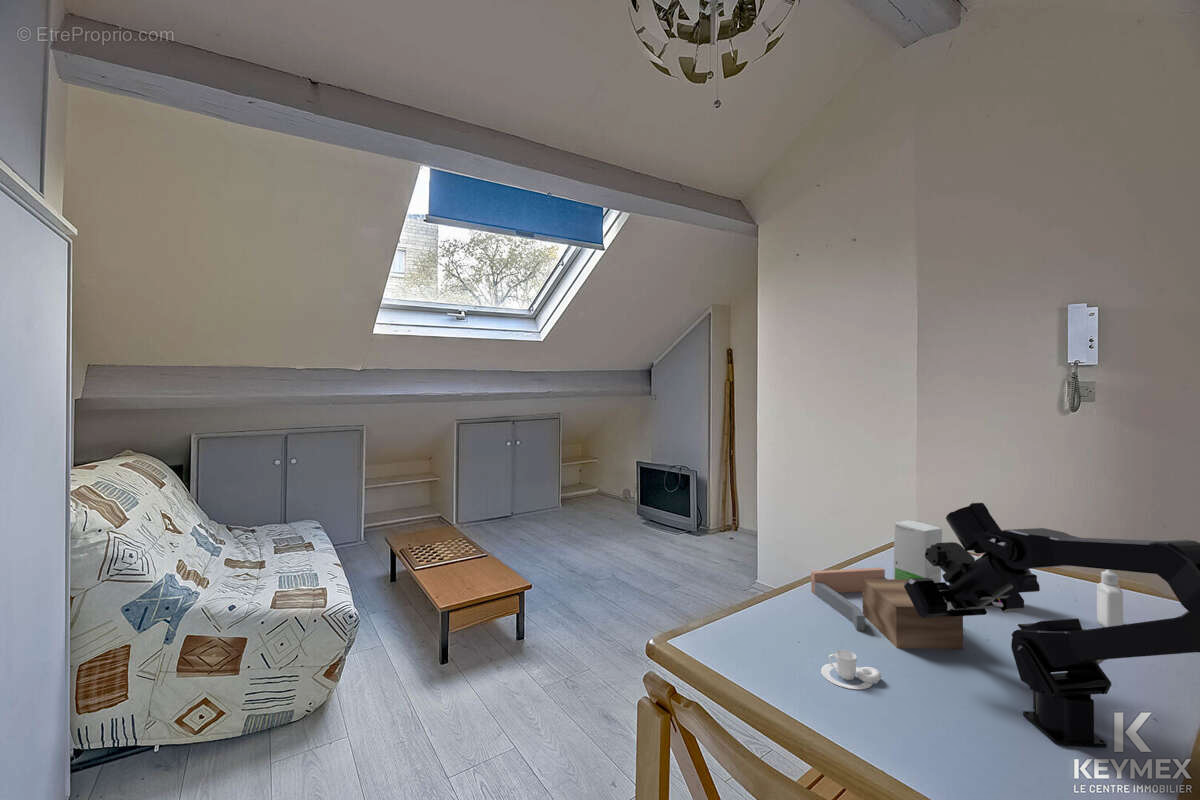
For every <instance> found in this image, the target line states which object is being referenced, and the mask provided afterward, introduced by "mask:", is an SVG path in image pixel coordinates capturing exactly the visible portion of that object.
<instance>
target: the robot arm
mask: <svg viewBox="0 0 1200 800" xmlns="http://www.w3.org/2000/svg"><path fill="white" fill-rule="evenodd" d="M945 521H946V522H947V524H948V525H949V526H950V528H951V529H952V531H953V533H954V535H955V536H956V537H957V539H958V540H959V542H960V544H959V543H957V542H954V541H950V542H947V541H946V542H942V543H936V544H935V545H931V547H930V548H927V549H926V553H925V558H926V559H927V560H928V561H929V562H930V563H931V564H932V565H933V566H939V567H940V568H941V571H943V572H944V573H943V574H941V577H942V578H943V579H944V582H942V581H941V582H939V583H935V582H934V581H933V580H932V579H930V578H912V579H909V580H908V581H907V582H906V583H905V585H904V588H905V590H906V591H907V593H908V595H909V597H910V599H911V601H912V603H913V605H914V607H915V609H916V611H917V613H918V615H919V616H921V617H922V618H934V617H958V616H963V617H968V616H970V617H971V616H974V617H975V616H985V615H987V613H988V612H987V609H991V608H994V607H995V606H994V605H993V603H998V602H999V600H998V599H1000V601H1001V602H1002V604H1003V607H1000V610H1001V611H1002V613H1004V614H1008V613H1009V614H1010V613H1011V614H1012V613H1018V612H1020V611H1022V610H1023V609H1024V608H1025V600H1024V598H1023V597H1022V595H1021V593H1032V592H1033V593H1037V592H1040V591H1041V588H1040V583H1039V582H1038V576H1037V574H1034V573H1032V572H1031V570H1033V569H1046V568H1047V569H1050V568H1060V567H1080V568H1090V569H1099V570H1106V569H1109V570H1113V571H1119V572H1120V571H1121V572H1129V573H1130V572H1131V573H1140V574H1141V573H1142V574H1143V573H1144V574H1152V575H1157V576H1159V577H1160V578H1161V579H1163V581H1165V582H1166V583H1167V584H1168V585H1169V587H1170V589H1171V590H1172V592H1173V594H1174V595H1175V596H1176V598H1177V600H1178V601H1179V603H1180V605H1181V606H1182V607H1183V608H1185V610H1187V611H1186V612H1185V613H1183V614H1182V615H1180V616H1177V617H1173V618H1172V617H1171V618H1164V619H1163V618H1162V619H1157V620H1149V621H1141V622H1136V623H1135V622H1133V623H1127V624H1123V625H1118V626H1110V627H1104V626H1102V627H1097V628H1090V629H1086V628H1082V625H1081V622H1080V619H1079V618H1066V619H1063V618H1062V619H1052V620H1051V619H1049V620H1040V621H1037V622H1035V623H1034V622H1033V623H1032V622H1031V623H1018V624H1017V627H1018V628H1019V629H1016V630H1014V631H1013V632H1012V633H1011V637H1012V639H1011V643H1010V646H1011V647H1010V648H1011V651H1012V655H1013V658H1014V662H1015V664H1016V665H1015V666H1016V668H1017V672H1018V675H1019V678H1020V681H1022V682H1023V683H1025V684H1026V685H1028V687H1029V689H1030V690H1031V691H1032V694H1033V695H1032V709H1033V711H1031V710H1030V711H1027V710H1023V711H1022V715H1023V717H1024V718H1026V719H1027V720H1028V721H1029V722H1030V723H1031V724H1032V725H1034V727H1036V728H1037V729H1039V731H1040V732H1041V733H1043V734H1044V735H1045V736H1046V737H1047V738H1048V739H1050V740H1051V741H1052V742H1054V743H1055V744H1056V745H1063V746H1065V745H1066V746H1082V747H1083V746H1084V747H1098V748H1099V747H1101V748H1106V747H1108V742H1107V741H1106V740H1104V739H1103V738H1102V737H1101V736H1100V735H1098V734H1097V733H1096V732H1095V700H1094V699H1092V696H1091V695H1100V694H1101V695H1107V694H1108V693H1109V690H1110V689H1111V687H1112V682H1111V680H1110V679H1109V678H1108V676H1107V675H1106V673H1105V672H1104V670H1103V669H1102V668H1101V666H1100V664H1101V663H1103V662H1104V661H1106V660H1114V659H1128V658H1140V657H1151V656H1152V657H1153V656H1165V655H1166V656H1167V655H1178V654H1180V655H1181V654H1191V653H1192V654H1193V653H1200V542H1198V541H1197V540H1196V541H1195V540H1190V539H1179V540H1177V539H1176V540H1147V539H1145V540H1144V539H1123V538H1122V539H1119V538H1101V537H1100V538H1098V537H1097V538H1096V537H1079V536H1074V535H1071V534H1069V533H1067V532H1064V531H1061V530H1060V531H1059V530H1056V529H1055V530H1054V529H1049V528H1044V527H1039V528H1038V527H1037V528H1035V527H1034V528H1017V529H1001V527H1000V526H999V524H998V523H997V522H996V521H995V519H994V518H993V516H992V515H991V514H990V512H989V509H988V508H987V506H986V505H985V504H984V503H983V502H972V503H970V504H969V505H968V506H965V507H961V508H958V509H955V510H954V511H951V512H949V513H948V514H947V515H946V517H945ZM969 551H973V552H974V553H975V554H978V555H979V554H981V555H982V556H981V555H980V556H981V557H980V556H978V558H977V559H975V557H974V556H973V555H972V554H971V553H970V552H969ZM1030 569H1031V570H1030ZM947 583H948V584H947Z"/></svg>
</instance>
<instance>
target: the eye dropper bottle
mask: <svg viewBox="0 0 1200 800" xmlns="http://www.w3.org/2000/svg"><path fill="white" fill-rule="evenodd" d="M1100 572H1101V573H1100V575H1101V576H1100V581H1101V582H1099V583H1097V585H1096V620H1097V623H1098V624H1099V625H1100V626H1102V627H1110V626H1118V625H1124V593H1123V590H1122V588H1121V587H1120V586H1119V574H1118V573H1117V572H1114V570H1109V569H1105V570H1103V571H1100Z"/></svg>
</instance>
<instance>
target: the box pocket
mask: <svg viewBox="0 0 1200 800" xmlns="http://www.w3.org/2000/svg"><path fill="white" fill-rule="evenodd" d="M885 571H886V570H885V569H884V568H883V567H868V568H867V567H866V568H865V567H863V568H850V569H849V568H847V569H845V568H844V569H830V570H829V569H828V570H812V571H810V572H811V573H810V575H811V576H810V580H811V581H810V583H811V586H810V587H811V591H810V592H811V593H812V594H814V595H815V596H817V597H818V598H819V599H820V600H822V601H824V602H825V603H826V604H827V605H829V606H830V607H831V608H832V609H834V610H835V611H837V612H838V613H839V614H841V615H842V616H843V617H845V619H847V620H848V621H850V622H852V624H853V626H854V628H855V630H856V631H862V632H866V619H865V616H864V614H863V610H862V609H861V608H860V607H859V606H857V605H856V604H854V603H853V602H851V601H850V600H848V599H847V598H845V597H844V596H843V595H841V594H840V593H842V594H843V593H857V592H858V593H859V592H863V584H862V579H887V578H886V575H885V574H886V572H885Z"/></svg>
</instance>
